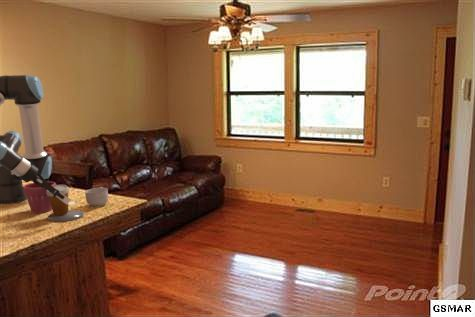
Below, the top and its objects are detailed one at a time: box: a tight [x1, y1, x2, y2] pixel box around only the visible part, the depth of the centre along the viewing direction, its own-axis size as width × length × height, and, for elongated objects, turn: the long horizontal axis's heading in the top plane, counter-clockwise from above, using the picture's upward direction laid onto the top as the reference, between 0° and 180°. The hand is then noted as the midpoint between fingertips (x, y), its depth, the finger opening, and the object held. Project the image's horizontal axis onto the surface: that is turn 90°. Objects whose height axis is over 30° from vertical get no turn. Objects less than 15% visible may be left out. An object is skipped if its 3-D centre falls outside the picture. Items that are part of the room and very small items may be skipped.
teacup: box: [84, 186, 109, 208], centre depth 210 cm, size 14×11×8 cm
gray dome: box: [47, 209, 84, 223], centre depth 191 cm, size 15×15×1 cm
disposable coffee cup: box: [46, 184, 70, 216], centre depth 190 cm, size 10×10×12 cm
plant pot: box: [23, 181, 57, 214], centre depth 200 cm, size 14×14×13 cm
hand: (64, 199), depth 189 cm, fingers open, 13 cm apart
